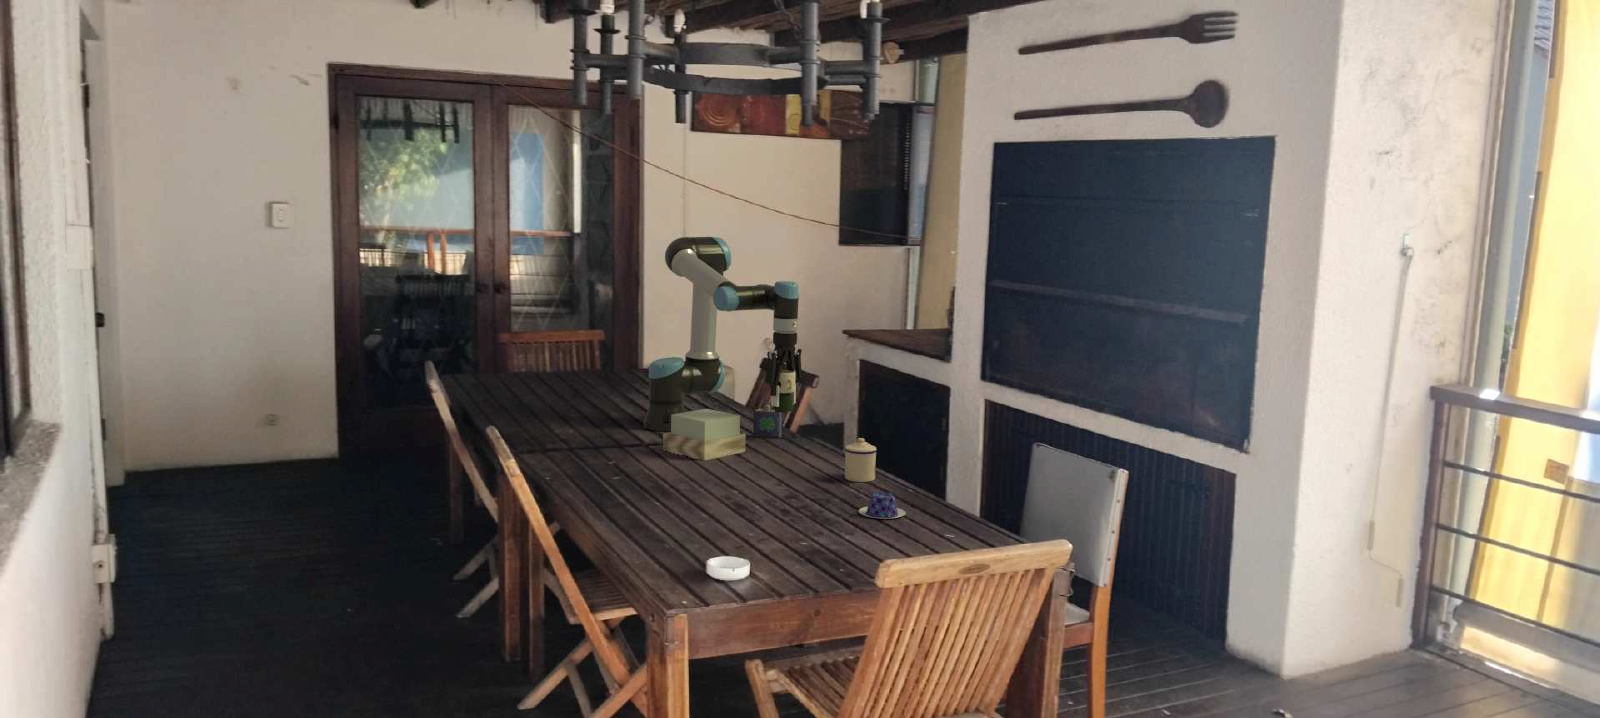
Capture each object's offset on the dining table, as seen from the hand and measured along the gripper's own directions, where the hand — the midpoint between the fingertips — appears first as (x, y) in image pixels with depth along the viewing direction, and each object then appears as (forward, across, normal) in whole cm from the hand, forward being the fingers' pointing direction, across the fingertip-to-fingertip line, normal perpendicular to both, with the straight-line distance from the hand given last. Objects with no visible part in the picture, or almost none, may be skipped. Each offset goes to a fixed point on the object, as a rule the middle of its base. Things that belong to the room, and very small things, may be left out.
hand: (783, 404), depth 370 cm
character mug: (+3, 0, 0) cm, 3 cm away
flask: (+15, +12, +17) cm, 26 cm away
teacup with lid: (+14, -11, -38) cm, 43 cm away
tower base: (+15, -18, +16) cm, 29 cm away
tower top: (+9, -18, +16) cm, 26 cm away
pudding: (+14, -37, -66) cm, 77 cm away
